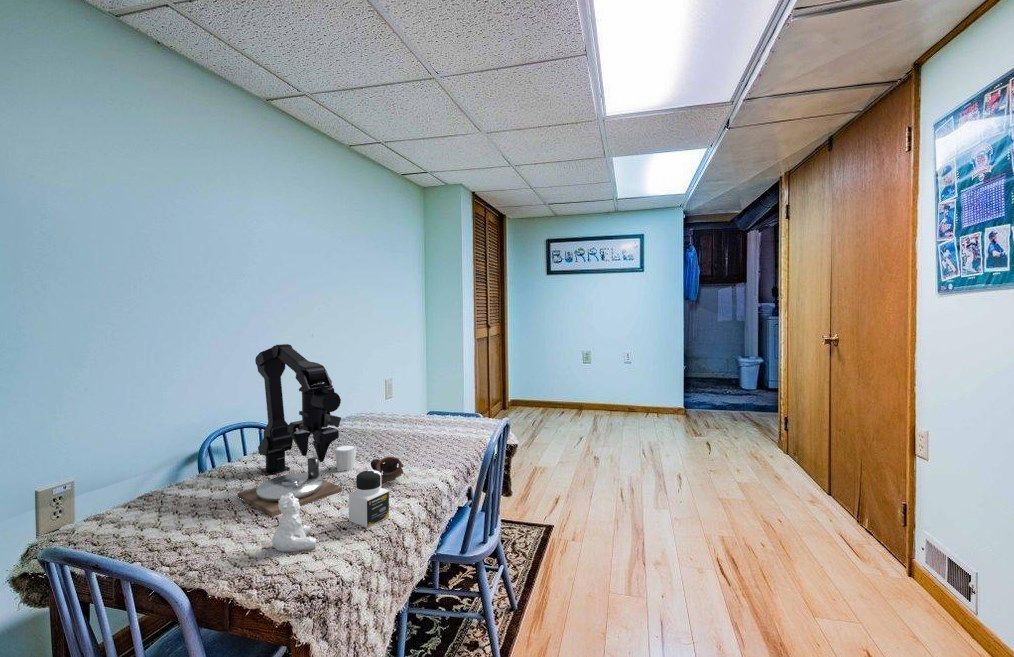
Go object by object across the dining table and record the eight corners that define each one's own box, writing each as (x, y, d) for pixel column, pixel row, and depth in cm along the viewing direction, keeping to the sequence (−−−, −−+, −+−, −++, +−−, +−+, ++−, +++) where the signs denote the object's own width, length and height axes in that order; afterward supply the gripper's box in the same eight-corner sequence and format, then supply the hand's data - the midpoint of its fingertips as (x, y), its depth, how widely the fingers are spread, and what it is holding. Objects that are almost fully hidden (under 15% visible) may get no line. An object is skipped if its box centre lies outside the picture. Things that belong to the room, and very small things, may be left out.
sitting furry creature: (318, 549, 97) (318, 495, 97) (275, 561, 92) (274, 505, 92) (309, 531, 105) (309, 482, 104) (268, 542, 100) (268, 490, 99)
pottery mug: (410, 476, 142) (409, 459, 137) (393, 499, 134) (392, 481, 130) (379, 463, 145) (377, 446, 141) (360, 485, 137) (358, 467, 133)
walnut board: (237, 497, 124) (237, 493, 124) (305, 476, 140) (305, 472, 140) (272, 516, 112) (272, 512, 112) (341, 491, 128) (341, 487, 128)
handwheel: (245, 491, 124) (245, 467, 124) (303, 473, 138) (302, 452, 138) (275, 507, 114) (274, 480, 114) (334, 486, 128) (334, 463, 128)
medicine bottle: (367, 528, 106) (367, 479, 106) (348, 521, 110) (347, 474, 110) (389, 517, 112) (389, 471, 112) (370, 510, 116) (370, 465, 116)
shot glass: (342, 473, 143) (342, 452, 142) (330, 468, 147) (330, 448, 147) (360, 467, 148) (360, 447, 148) (349, 463, 152) (348, 443, 152)
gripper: (354, 406, 132) (354, 458, 133) (320, 399, 143) (320, 446, 144) (320, 413, 123) (320, 468, 124) (286, 405, 134) (286, 455, 135)
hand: (312, 458), depth 132 cm, fingers open, 9 cm apart
